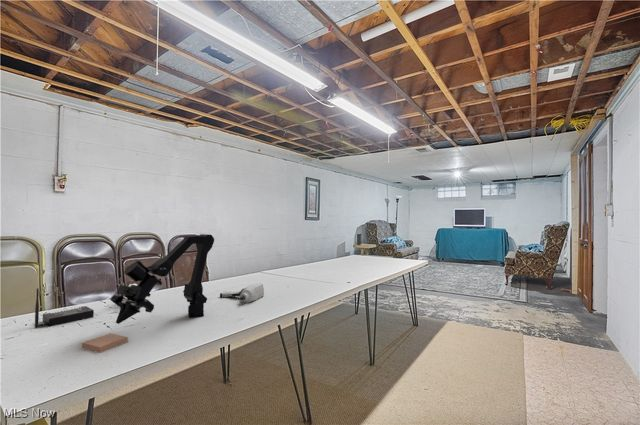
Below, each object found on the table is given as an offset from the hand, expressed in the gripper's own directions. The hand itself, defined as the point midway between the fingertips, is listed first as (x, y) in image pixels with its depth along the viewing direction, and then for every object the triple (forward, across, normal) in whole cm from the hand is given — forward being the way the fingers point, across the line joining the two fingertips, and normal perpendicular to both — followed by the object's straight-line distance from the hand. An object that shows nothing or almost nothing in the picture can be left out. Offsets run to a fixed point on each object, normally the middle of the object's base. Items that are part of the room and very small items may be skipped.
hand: (117, 323), depth 116 cm
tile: (+4, 0, +5) cm, 6 cm away
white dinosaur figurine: (-19, -36, +29) cm, 50 cm away
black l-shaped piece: (+1, -45, +9) cm, 46 cm away
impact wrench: (-42, +4, +53) cm, 68 cm away
